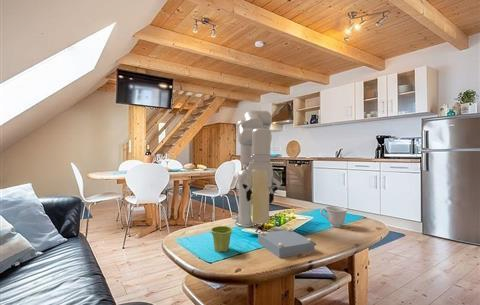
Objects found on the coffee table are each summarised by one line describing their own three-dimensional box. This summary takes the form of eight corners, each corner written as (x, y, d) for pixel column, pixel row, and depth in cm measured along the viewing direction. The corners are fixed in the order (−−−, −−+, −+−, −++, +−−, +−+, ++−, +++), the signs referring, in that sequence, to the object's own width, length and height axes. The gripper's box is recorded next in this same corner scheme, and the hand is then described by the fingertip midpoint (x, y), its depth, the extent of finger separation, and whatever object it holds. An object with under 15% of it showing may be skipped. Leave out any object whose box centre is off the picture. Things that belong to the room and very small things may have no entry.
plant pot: (224, 255, 105) (224, 234, 105) (206, 250, 110) (206, 230, 110) (236, 248, 113) (236, 228, 113) (219, 243, 118) (219, 224, 118)
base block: (279, 257, 104) (279, 245, 104) (257, 242, 120) (258, 231, 120) (314, 251, 111) (314, 239, 111) (289, 237, 128) (290, 227, 128)
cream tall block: (248, 217, 109) (249, 168, 108) (266, 217, 109) (267, 168, 108) (250, 223, 101) (251, 170, 100) (268, 223, 101) (270, 170, 100)
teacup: (318, 222, 156) (318, 205, 156) (343, 223, 154) (344, 206, 154) (321, 228, 144) (322, 210, 144) (349, 229, 142) (350, 211, 142)
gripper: (237, 158, 103) (236, 201, 104) (280, 160, 97) (278, 206, 98) (243, 157, 110) (242, 197, 111) (284, 159, 104) (282, 201, 105)
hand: (259, 201), depth 105 cm, fingers closed on cream tall block, 8 cm apart
